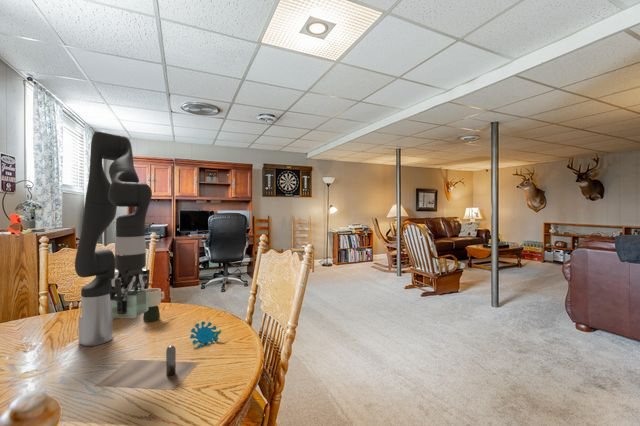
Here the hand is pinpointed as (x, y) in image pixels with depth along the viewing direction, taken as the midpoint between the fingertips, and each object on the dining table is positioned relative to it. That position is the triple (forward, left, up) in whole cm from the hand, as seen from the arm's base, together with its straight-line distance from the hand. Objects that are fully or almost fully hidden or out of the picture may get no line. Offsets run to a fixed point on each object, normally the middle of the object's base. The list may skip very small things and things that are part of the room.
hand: (130, 309), depth 88 cm
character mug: (-21, +42, -20) cm, 51 cm away
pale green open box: (0, 0, -1) cm, 1 cm away
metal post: (+12, 0, -18) cm, 22 cm away
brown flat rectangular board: (+6, 0, -20) cm, 20 cm away
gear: (+13, +21, -20) cm, 32 cm away
